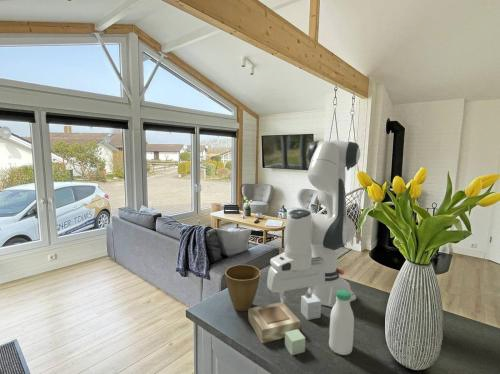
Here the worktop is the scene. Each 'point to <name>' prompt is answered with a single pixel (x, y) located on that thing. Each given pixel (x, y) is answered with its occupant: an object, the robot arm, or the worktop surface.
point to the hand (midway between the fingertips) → (296, 299)
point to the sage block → (295, 342)
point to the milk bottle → (341, 324)
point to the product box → (310, 307)
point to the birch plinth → (272, 321)
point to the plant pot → (242, 285)
